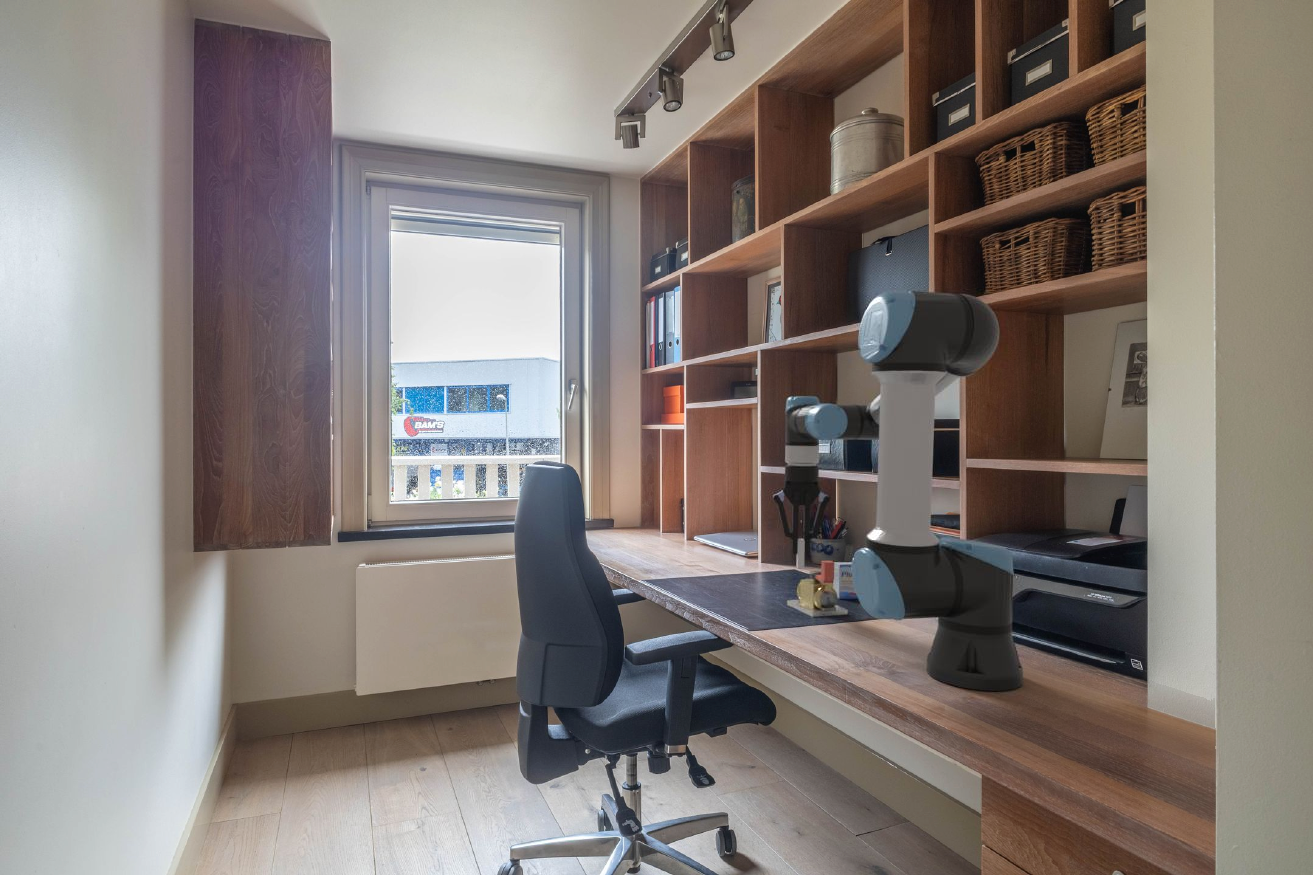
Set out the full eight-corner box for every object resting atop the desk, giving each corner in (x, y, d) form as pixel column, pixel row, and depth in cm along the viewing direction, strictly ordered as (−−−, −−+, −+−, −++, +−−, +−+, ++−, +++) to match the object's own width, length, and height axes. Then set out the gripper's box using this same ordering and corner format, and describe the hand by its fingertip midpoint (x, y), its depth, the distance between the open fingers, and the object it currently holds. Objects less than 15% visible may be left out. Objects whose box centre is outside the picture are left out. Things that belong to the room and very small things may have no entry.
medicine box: (838, 599, 182) (839, 564, 182) (832, 595, 186) (833, 561, 186) (869, 598, 183) (869, 564, 182) (862, 595, 187) (863, 561, 187)
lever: (821, 576, 173) (821, 554, 173) (836, 585, 163) (836, 562, 163) (808, 576, 173) (808, 555, 173) (822, 585, 163) (822, 562, 163)
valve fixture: (847, 614, 167) (847, 583, 167) (812, 616, 164) (812, 585, 164) (820, 602, 178) (820, 573, 178) (787, 604, 176) (787, 575, 176)
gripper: (828, 464, 169) (827, 565, 170) (771, 463, 170) (770, 564, 171) (833, 465, 162) (831, 572, 162) (773, 464, 163) (772, 570, 163)
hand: (800, 567), depth 166 cm, fingers closed
